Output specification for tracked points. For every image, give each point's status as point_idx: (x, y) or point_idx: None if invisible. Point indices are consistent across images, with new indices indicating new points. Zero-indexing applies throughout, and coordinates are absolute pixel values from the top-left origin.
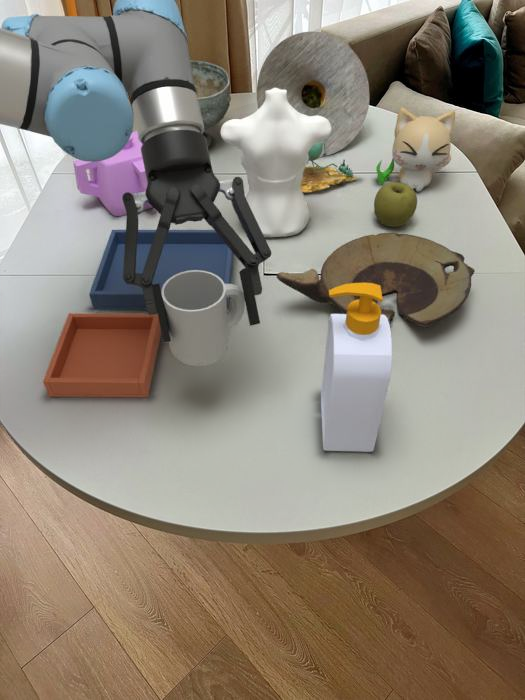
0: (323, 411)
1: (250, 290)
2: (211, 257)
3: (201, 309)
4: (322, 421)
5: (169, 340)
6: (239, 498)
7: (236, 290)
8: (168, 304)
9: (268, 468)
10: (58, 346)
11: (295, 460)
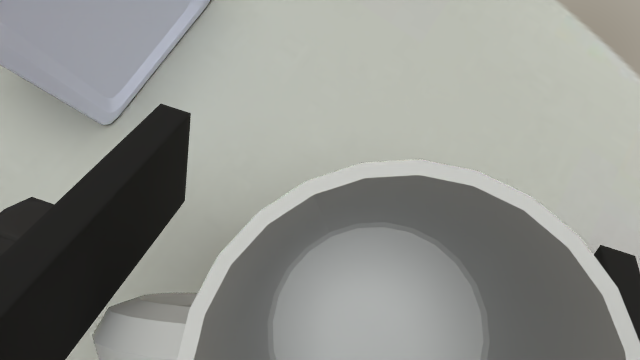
0: (140, 69)
1: (76, 207)
2: None
3: (461, 174)
4: (162, 52)
5: (608, 248)
6: (447, 4)
7: (130, 312)
8: (637, 354)
9: (348, 31)
10: None
11: (283, 14)
